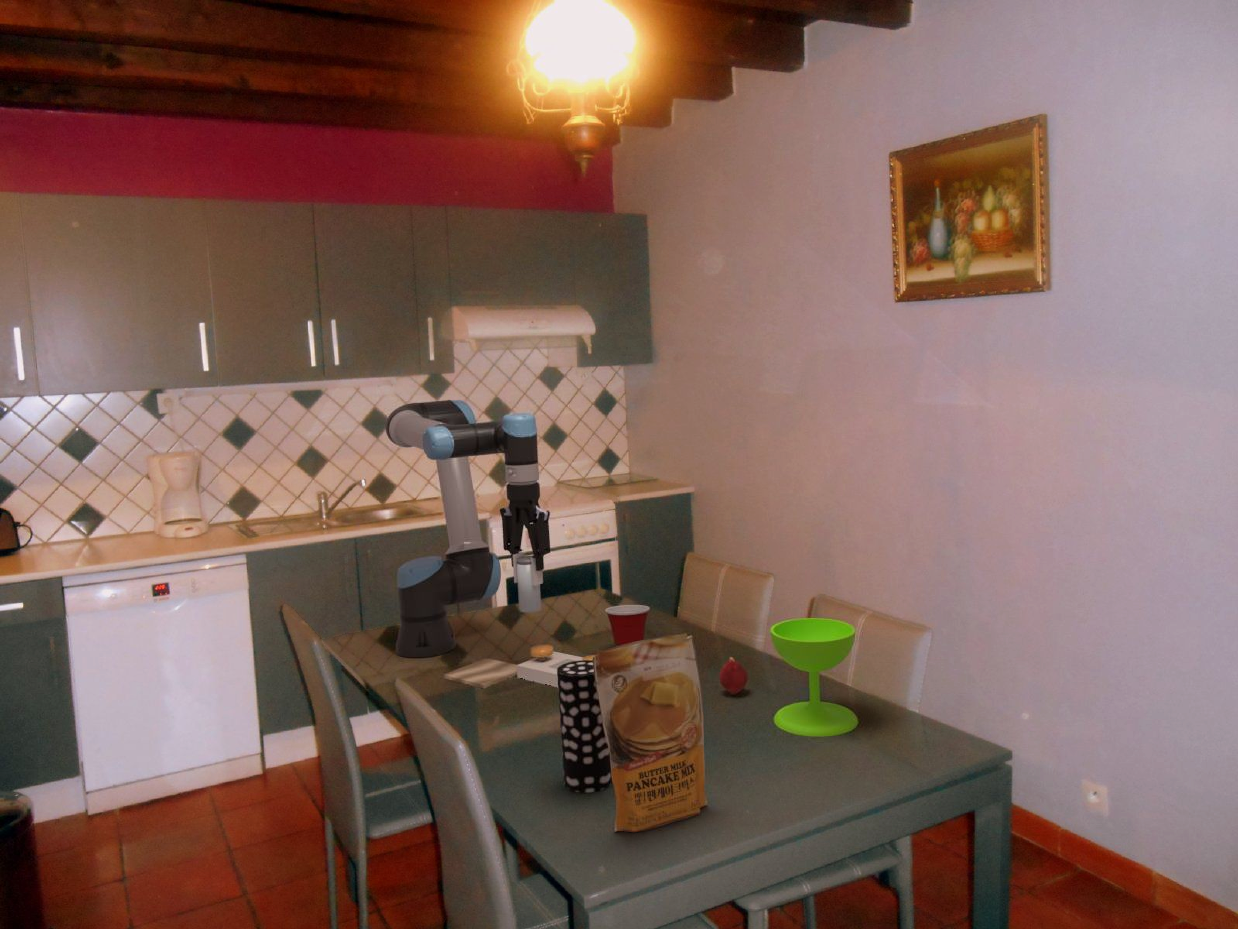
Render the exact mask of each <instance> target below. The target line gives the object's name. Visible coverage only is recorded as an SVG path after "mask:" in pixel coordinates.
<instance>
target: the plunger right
mask: <svg viewBox="0 0 1238 929" xmlns="http://www.w3.org/2000/svg"><path fill="white" fill-rule="evenodd" d="M595 655H596V654H591V655H586V656H584V657H583V658H582V660H593V659H592V658H593V657H594V656H595Z"/></svg>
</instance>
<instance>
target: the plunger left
mask: <svg viewBox="0 0 1238 929" xmlns="http://www.w3.org/2000/svg"><path fill="white" fill-rule="evenodd" d="M553 651H554V646H553V645H550V644H538V645H534V646H531V647H530V656H531V657H534V658H536V657H538V662H542V663H543V662H545V661H547V656H550V655H552V654H553Z"/></svg>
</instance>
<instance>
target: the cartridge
mask: <svg viewBox="0 0 1238 929" xmlns="http://www.w3.org/2000/svg"><path fill="white" fill-rule="evenodd" d="M532 556H533V555H523V556H521V557H518V558H516V563H517V580H518V583H517V593H518V610H519V612H522V613H535V612H539V611H541V610H542V600H541V598H542V596H541V584H539V585H536V586H533V585H532V568H531V557H532Z"/></svg>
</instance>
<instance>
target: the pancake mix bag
mask: <svg viewBox="0 0 1238 929" xmlns="http://www.w3.org/2000/svg"><path fill="white" fill-rule="evenodd" d="M695 645H696V644H695V639H694V636H693V635H688V632H687V631H685V632H684V631H683V632H680V631H679V632H676V633H672V634H671V633H670V634H666V635H663V636H660V637H656V638H649V639H644V640H641V641H637V642H632V643H628V644H625V645H620V646H616V645H615V646H612V647H609V648H606V649H603V650H599V651H598V652H597V653H596V654H594V655H595V656H594V657H593V658H592V659H593V669H594V677H595V685H596V690H597V694H598V697H599V703H600V710H601V717H602V724H603V729H604V733H605V737H606V741H607V744H608V748H609V752H610V763H611V775H612V785H613V789H614V794H615V802H616V803H615V804H616V812H615V813H616V814H615V822H614V829H613V832H614V833H616V832H622V831H623V832H629V833H637V832H643V831H647V830H650V829H654V828H657V827H662V826H664V825H668V824H671V823H674V822H677V821H680V820H681V821H682V820H685V819H689V818H690V817H694V816H695V817H696V816H697V815H700V814H701V809H702V808H704V807H705V806H706V805H708V801H707V797H706V791H705V784H706V783H705V780H706V778H705V776H706V775H705V774H706V772H705V770H706V769H705V768H706V767H705V765H706V764H705V746H704V745H705V744H704V743H705V742H704V741H705V740H704V739H705V738H704V737H705V733H704V732H705V730H704V729H705V728H704V727H705V726H704V721H705V718H704V715H705V714H704V709H703V690H702V689H703V688H702V684H701V683H702V681H701V676H700V670H699V665H698V656H697V649H696V646H695Z"/></svg>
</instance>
